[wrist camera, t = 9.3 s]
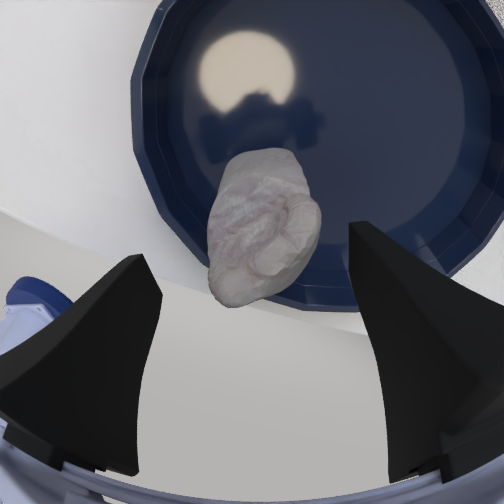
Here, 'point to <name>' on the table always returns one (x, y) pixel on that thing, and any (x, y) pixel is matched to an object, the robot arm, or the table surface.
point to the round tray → (330, 121)
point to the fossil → (260, 227)
